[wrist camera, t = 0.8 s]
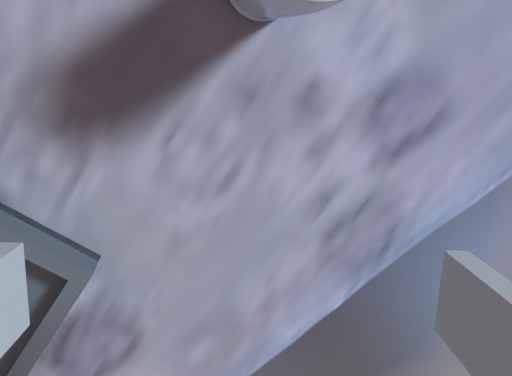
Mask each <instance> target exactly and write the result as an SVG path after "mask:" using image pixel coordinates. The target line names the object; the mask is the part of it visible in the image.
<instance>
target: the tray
mask: <svg viewBox="0 0 512 376" xmlns="http://www.w3.org/2000/svg"><path fill="white" fill-rule="evenodd" d="M0 242H17V243H23V245H24V257H25V270H26V282H27V295H28V307H29V319H30V325H29V326H28V328H27V329H26V330H25V331H24V332H23V333H22V334H21V336H20V337H19V338H18V339H17V340H16V341H15V342H14V344H13V345H12V346H11V347H10V348H9V349H8V350H7V352H6V353H5V354H4V355H3V356H2V357H1V358H0V376H27V375H28V373H29V372H30V370H31V368H32V367H33V365H34V364H35V362H36V361H37V359H38V358H39V356H40V355H41V353H42V352H43V350H44V349H45V347H46V346H47V344H48V342H49V341H50V339H51V338H52V336H53V335H54V333H55V332H56V330H57V329H58V327H59V326H60V324H61V323H62V321H63V320H64V318H65V317H66V315H67V313H68V312H69V310H70V309H71V307H72V306H73V304H74V303H75V301H76V300H77V298H78V297H79V295H80V294H81V292H82V291H83V289H84V287H85V286H86V284H87V283H88V281H89V280H90V278H91V277H92V275H93V273H94V271H95V268H96V266H97V264H98V261H99V259H100V255H98V254H96V253H94V252H92V251H90V250H89V249H87V248H85V247H83V246H81V245H79V244H77V243H75V242H73V241H72V240H70V239H68V238H66V237H64V236H62V235H60V234H58V233H57V232H55V231H53V230H51V229H49V228H47V227H45V226H43V225H41V224H40V223H38V222H36V221H34V220H32V219H30V218H28V217H26V216H24V215H23V214H21V213H19V212H17V211H15V210H13V209H11V208H9V207H7V206H6V205H4V204H2V203H0Z"/></svg>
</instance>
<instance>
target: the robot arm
mask: <svg viewBox="0 0 512 376" xmlns="http://www.w3.org/2000/svg"><path fill="white" fill-rule="evenodd" d="M29 325H30V319H29V307H28V295H27V282H26V270H25V257H24V245H23V243H17V242H0V358H1V357H2V356H3V355H4V354H5V353H6V352H7V350H8V349H9V348H10V347H11V346H12V345H13V344H14V342H15V341H16V340H17V339H18V338H19V337H20V336H21V334H22V333H23V332H24V331H25V330H26V329H27V328H28V326H29ZM434 329H435V331H436V332H437V333H438V335H439V336H440V337H441V338H442V339H443V341H444V342H445V343H446V344H447V346H448V347H449V348H450V349H451V351H452V352H453V353H454V354H455V356H456V357H457V358H458V359H459V361H460V362H461V363H462V364H463V366H464V367H465V368H466V369H467V371H468V372H469V373H470V374H471V376H512V282H511V281H509V280H508V279H506V278H505V277H504V276H502V275H501V274H499V273H498V272H497V271H495V270H494V269H492V268H491V267H490V266H488V265H487V264H485V263H484V262H483V261H481V260H480V259H478V258H477V257H476V256H474V255H473V254H471V253H470V252H469V251H444V259H443V266H442V274H441V282H440V291H439V298H438V305H437V313H436V321H435V328H434Z"/></svg>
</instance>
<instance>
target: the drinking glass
mask: <svg viewBox="0 0 512 376" xmlns="http://www.w3.org/2000/svg"><path fill="white" fill-rule="evenodd" d="M342 1H344V0H230V2H231V4H232V5H233V7H234V8H235V9H236V10H237V11H238V12H239V13H240V14H242V15H243V16H245V17H246V18H248V19H251V20H254V21H261V22H262V21H271V20H274V19H277V18H283V17H293V16H302V15H308V14H312V13H316V12H319V11H322V10H325V9H328V8H330V7H332V6H334V5H336V4H339V3H341V2H342Z"/></svg>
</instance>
